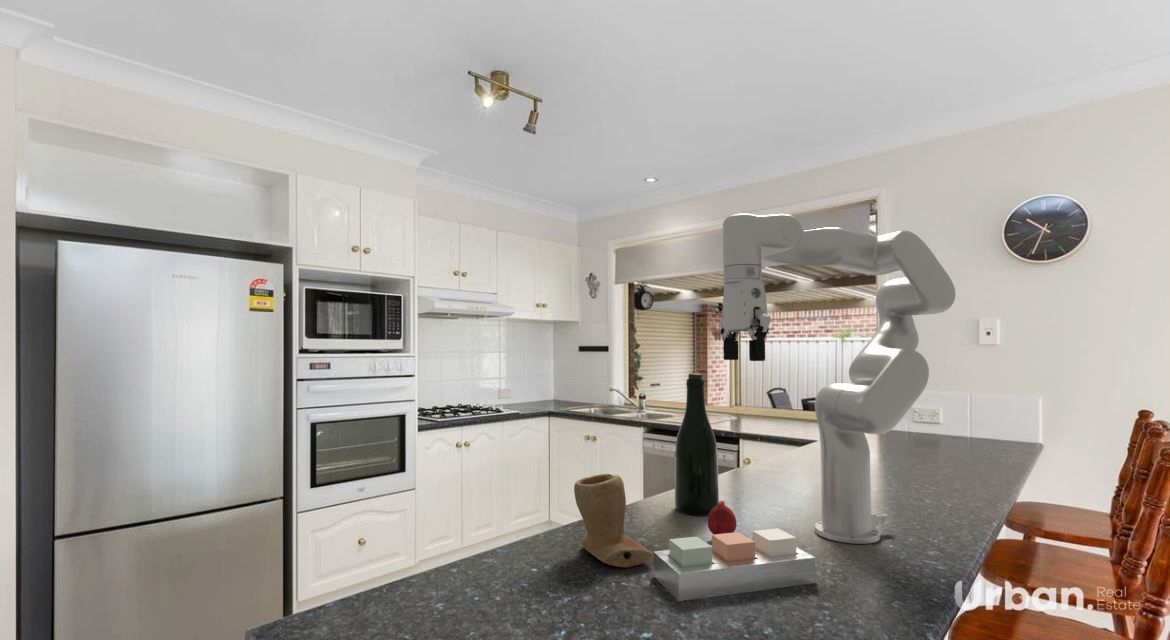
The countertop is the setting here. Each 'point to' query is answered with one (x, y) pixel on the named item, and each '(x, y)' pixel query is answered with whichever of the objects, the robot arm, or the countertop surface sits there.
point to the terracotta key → (733, 547)
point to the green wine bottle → (696, 455)
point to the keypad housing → (733, 575)
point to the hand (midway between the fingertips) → (743, 360)
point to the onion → (721, 519)
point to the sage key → (690, 552)
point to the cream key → (774, 542)
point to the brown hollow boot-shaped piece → (607, 521)
